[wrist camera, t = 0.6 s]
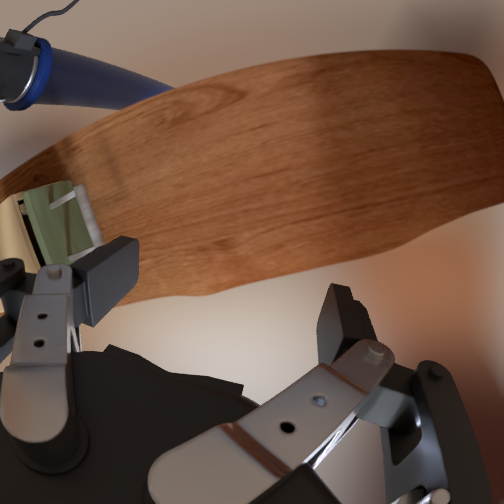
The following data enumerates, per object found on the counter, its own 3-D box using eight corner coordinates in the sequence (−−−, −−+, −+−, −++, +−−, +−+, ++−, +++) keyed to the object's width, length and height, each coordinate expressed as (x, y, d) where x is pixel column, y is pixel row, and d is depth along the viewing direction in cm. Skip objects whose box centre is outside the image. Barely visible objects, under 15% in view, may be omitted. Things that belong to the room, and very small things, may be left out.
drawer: (103, 160, 28) (58, 168, 22) (135, 252, 32) (98, 279, 25) (17, 214, 33) (-19, 228, 26) (43, 281, 36) (11, 303, 29)
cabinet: (63, 180, 31) (10, 194, 22) (95, 268, 34) (50, 300, 26) (11, 215, 34) (-32, 233, 26) (38, 286, 38) (0, 312, 29)
